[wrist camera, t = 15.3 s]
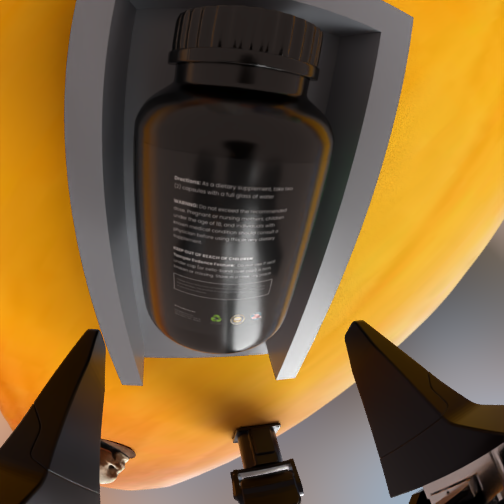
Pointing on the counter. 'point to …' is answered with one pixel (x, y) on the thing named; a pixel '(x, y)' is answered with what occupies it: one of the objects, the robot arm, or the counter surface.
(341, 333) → the counter surface
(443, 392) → the robot arm
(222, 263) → the supplement bottle
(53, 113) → the counter surface
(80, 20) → the gray rectangular tray
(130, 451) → the skull
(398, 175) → the counter surface
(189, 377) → the counter surface
